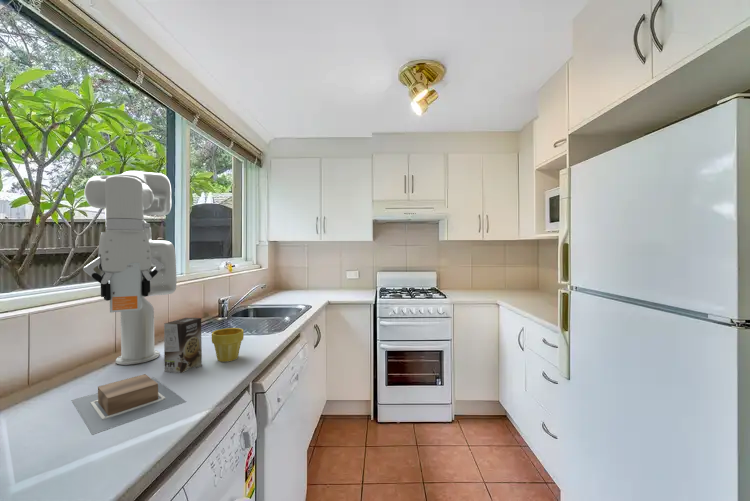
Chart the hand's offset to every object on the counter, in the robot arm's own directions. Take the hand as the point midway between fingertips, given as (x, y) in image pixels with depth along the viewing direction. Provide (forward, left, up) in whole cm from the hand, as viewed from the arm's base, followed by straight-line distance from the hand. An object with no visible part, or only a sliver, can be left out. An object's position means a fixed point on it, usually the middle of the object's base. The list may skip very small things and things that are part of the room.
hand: (126, 297), depth 81 cm
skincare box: (0, 0, -3) cm, 3 cm away
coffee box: (-14, +18, -27) cm, 36 cm away
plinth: (0, 0, -26) cm, 26 cm away
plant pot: (-13, +32, -27) cm, 44 cm away
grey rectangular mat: (0, 0, -27) cm, 27 cm away
